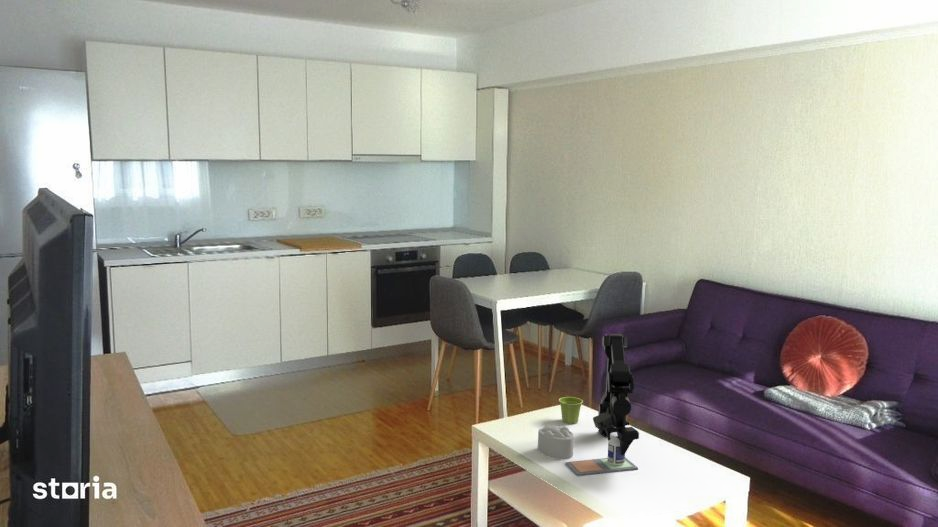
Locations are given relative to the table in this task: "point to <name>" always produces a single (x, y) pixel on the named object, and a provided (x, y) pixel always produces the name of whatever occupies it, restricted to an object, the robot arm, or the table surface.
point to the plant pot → (570, 409)
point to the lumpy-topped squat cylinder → (556, 442)
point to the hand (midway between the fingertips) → (616, 450)
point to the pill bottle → (615, 451)
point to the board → (598, 466)
